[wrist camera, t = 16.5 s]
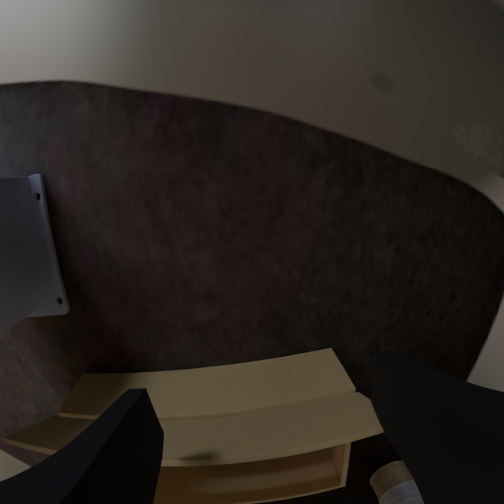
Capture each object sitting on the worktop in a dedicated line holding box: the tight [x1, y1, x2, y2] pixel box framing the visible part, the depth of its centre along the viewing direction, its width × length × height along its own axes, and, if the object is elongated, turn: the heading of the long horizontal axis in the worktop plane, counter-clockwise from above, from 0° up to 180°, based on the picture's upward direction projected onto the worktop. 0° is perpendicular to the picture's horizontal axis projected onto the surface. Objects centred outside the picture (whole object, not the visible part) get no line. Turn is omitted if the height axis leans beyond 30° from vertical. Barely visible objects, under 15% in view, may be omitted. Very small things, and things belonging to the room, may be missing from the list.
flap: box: [3, 392, 385, 466], centre depth 12 cm, size 5×18×1 cm
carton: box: [58, 348, 356, 504], centre depth 19 cm, size 11×18×5 cm, turn 98°
